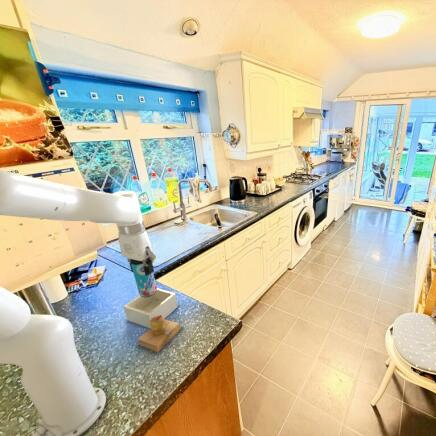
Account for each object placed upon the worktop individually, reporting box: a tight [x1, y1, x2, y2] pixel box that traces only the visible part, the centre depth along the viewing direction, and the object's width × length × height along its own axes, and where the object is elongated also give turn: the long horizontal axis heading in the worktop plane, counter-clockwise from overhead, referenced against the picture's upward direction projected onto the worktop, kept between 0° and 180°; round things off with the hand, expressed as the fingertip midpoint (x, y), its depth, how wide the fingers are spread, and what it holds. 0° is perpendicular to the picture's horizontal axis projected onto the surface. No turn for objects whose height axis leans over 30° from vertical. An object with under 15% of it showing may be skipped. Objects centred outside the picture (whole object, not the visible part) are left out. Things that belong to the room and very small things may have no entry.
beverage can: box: [131, 258, 158, 298], centre depth 88 cm, size 6×6×15 cm
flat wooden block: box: [137, 318, 181, 353], centre depth 83 cm, size 10×8×3 cm
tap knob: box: [150, 315, 166, 336], centre depth 81 cm, size 4×4×5 cm
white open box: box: [123, 287, 179, 329], centre depth 93 cm, size 13×13×7 cm
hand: (143, 271), depth 87 cm, fingers closed on beverage can, 5 cm apart
